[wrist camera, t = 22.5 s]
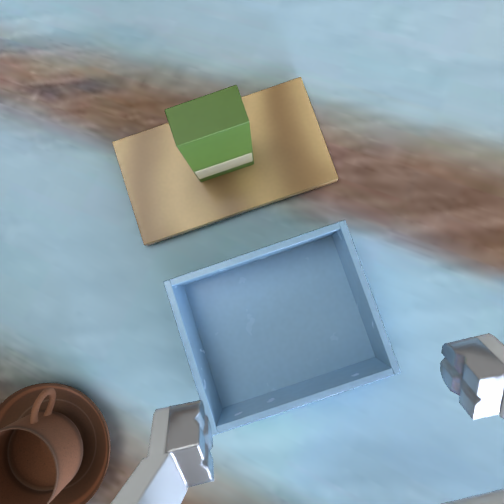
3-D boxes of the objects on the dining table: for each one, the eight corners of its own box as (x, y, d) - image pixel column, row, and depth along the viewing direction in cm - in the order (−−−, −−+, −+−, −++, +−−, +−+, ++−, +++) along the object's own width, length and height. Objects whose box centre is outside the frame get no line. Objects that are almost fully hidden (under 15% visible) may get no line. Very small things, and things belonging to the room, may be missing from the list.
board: (300, 82, 37) (300, 76, 36) (336, 181, 36) (338, 178, 35) (116, 145, 37) (111, 141, 36) (147, 246, 36) (143, 245, 35)
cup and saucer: (-9, 387, 36) (-66, 409, 30) (110, 369, 35) (76, 387, 29) (2, 515, 35) (-55, 565, 29) (125, 497, 34) (94, 544, 28)
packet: (244, 135, 36) (236, 83, 26) (254, 165, 36) (250, 122, 26) (191, 154, 36) (163, 108, 26) (200, 183, 36) (176, 147, 26)
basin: (333, 228, 36) (345, 219, 30) (380, 359, 34) (401, 372, 29) (178, 281, 36) (162, 281, 31) (219, 413, 35) (211, 436, 29)
